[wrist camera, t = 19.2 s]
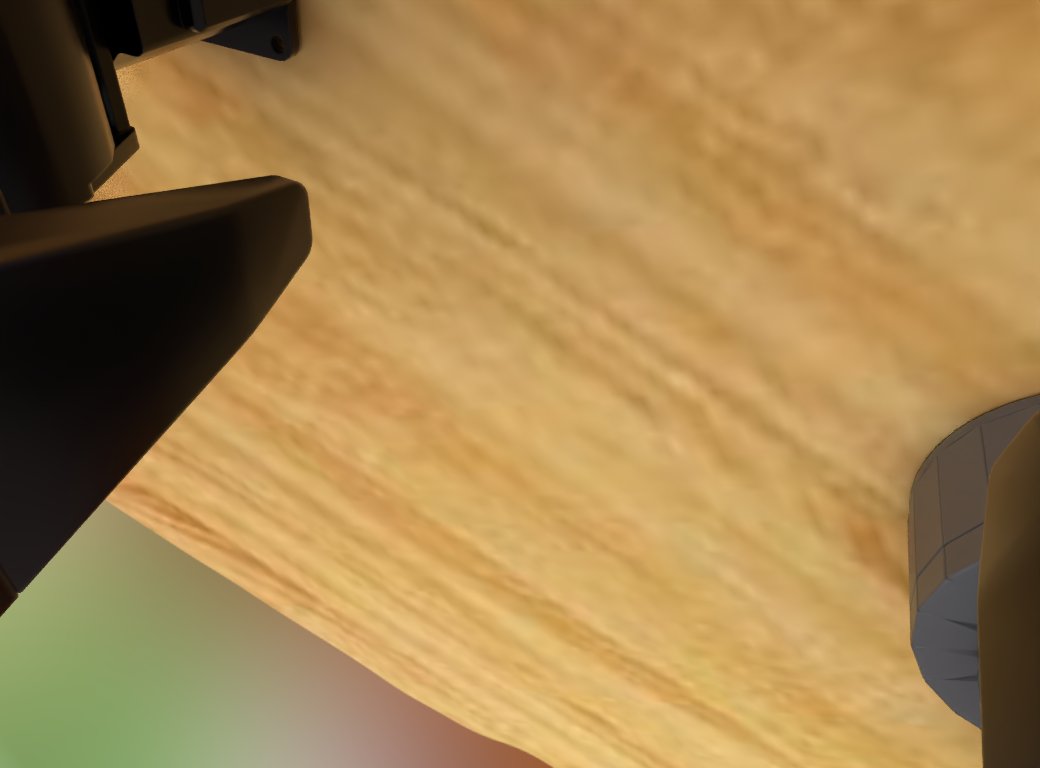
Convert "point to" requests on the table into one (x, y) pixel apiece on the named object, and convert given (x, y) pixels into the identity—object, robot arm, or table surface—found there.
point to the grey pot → (954, 552)
